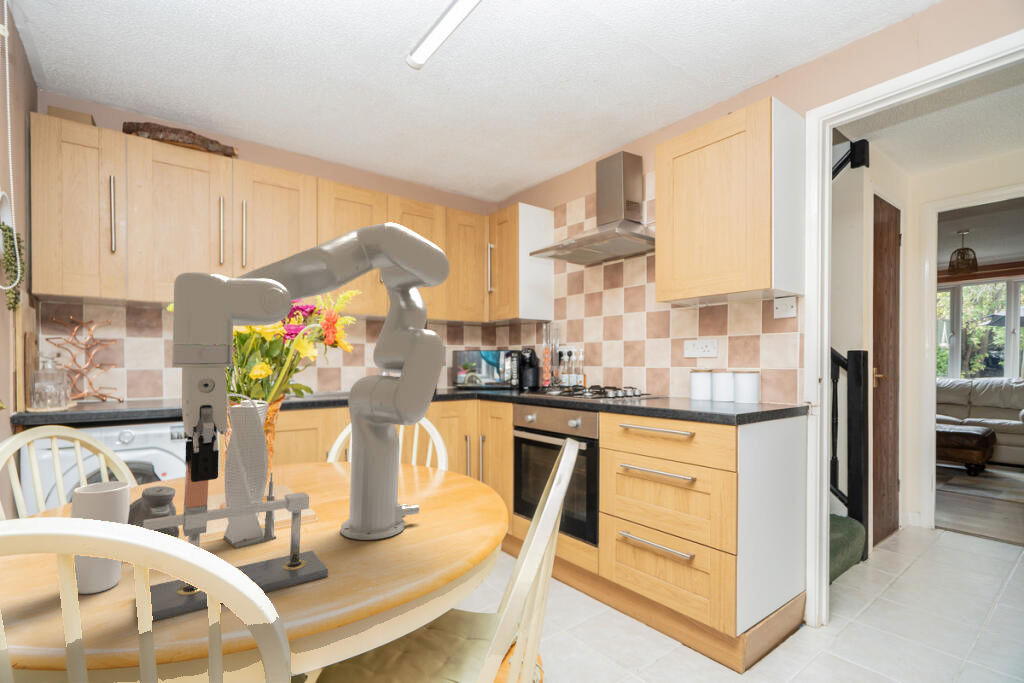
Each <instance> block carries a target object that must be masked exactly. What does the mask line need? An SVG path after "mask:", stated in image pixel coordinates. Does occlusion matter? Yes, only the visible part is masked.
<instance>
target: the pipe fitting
mask: <svg viewBox="0 0 1024 683" xmlns="http://www.w3.org/2000/svg"><path fill="white" fill-rule="evenodd" d="M175 496H176V489H175V488H173V487H171V486H170V487H169V486H163V485H162V486H150V487H146V488H145V489H143V490H142V493H141V497H140V498H138V499H136V500H135V501H133V502H132V503H130V511H129V518H128V524H131V525H136V526H140V527H143V525H144V520H148V519H154V518H161V517H167V516H174V515H177V509H176V506H175V504H174V502H173V499H174V497H175ZM154 531H158V532H161V533H164V534H168V535H171V536H174V537H177V538H179V536H180V528H179V526H173V527H167V528H161V529H155V530H154Z"/></svg>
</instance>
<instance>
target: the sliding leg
mask: <svg viewBox="0 0 1024 683" xmlns="http://www.w3.org/2000/svg"><path fill="white" fill-rule="evenodd" d="M184 479H185V480H184V481H185V482H184V500H183V501H184V502H183V514H185V525H182V531H183V534H184V535H183V536H184V537H187V540H188V541H187V542H189V543H191V544H193V545H195V546H197V547H199V548H200V542H201V541H200V540H201V534H206V533H207V529H208V528H207V526H208V525H207V523H208V521H207V510H208V501H209V499H208V496H209V480H206V481H199V482H192V481H191V461H189V462H186V466H185V478H184ZM187 584H188V583H187ZM188 585H190V584H188Z"/></svg>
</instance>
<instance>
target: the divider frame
mask: <svg viewBox="0 0 1024 683" xmlns="http://www.w3.org/2000/svg"><path fill="white" fill-rule="evenodd" d="M309 508H310V496H309V495H308V494H307V493H306V492H305V491H301V492H294V493H288V494H284V498H283V499H274V501H267V500H266V501H262V502H260V503H254V504H247V505H240V506H234V507H227V508H226V507H221V508H216V509H214V508H213V509H209V510H208V509H207V522H209V521H215V520H216V521H217V520H221V519H228V518H229V517H235V516H241V515H247V514H253V513H259V512H260V513H264V512H265V513H266V511H272V510H274V511H276V510H284V509H286V510H287V511H288V512H289V513H291V521H290V522H291V524H290V543H289V544H290V546H289V547H290V549H289V555H290V564H291V565H297V564H298V563H299V553H301V552H300V549H301V548H300V546H301V522H302V511H304V510H308V509H309ZM260 513H259V514H260ZM183 525H185V514H184V513H182V514H176V515H174V516H167V517H161V518H154V519H148V520H144V525H143V528H146V529H149V530H155V529H161V528H167V527H173V526H178V527H179V526H183Z"/></svg>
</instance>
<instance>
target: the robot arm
mask: <svg viewBox="0 0 1024 683" xmlns="http://www.w3.org/2000/svg"><path fill="white" fill-rule="evenodd" d="M377 269H379V275H380V278H381V280H382V282H383V285H384V287H385V289H386V291H387V294H388V298H389V309H388V313H387V315H386V318H385V321H384V322H383V325H382V328H381V330H380V333H379V336H378V338H377V342H375V343H376V344H375V347H374V350H373V355H372V358H373V359H372V360H373V362H374V365H375V366H376V367H377V369H378V370H381V371H383V372H385V373H393V374H400V376H393V375H379V374H378V375H377V374H376V375H375V374H374V375H372V374H371V375H367V376H364V377H361V378H359V379H358V380H357V381H356V382H354V383H353V385H352V386H351V388H350V389H349V392H348V397H347V398H348V400H347V401H348V402H347V403H348V411H349V412H348V413H349V417H350V423H351V462H350V464H351V465H350V491H349V492H350V493H349V514H348V515H349V517H348V518H349V519H347V520H345V521H344V522H342V524H341V525H340V533H341V535H343V536H344V537H346V538H349V539H352V540H360V541H370V540H371V541H373V540H380V539H381V540H382V539H387V538H389V537H393V536H395V535H398V534H399V533H401V532H402V531H403V530H404V528H405V520H404V518H406V517H407V516H409V515H410V516H411V515H416V514H419V512H420V508H419V507H420V506H419V504H412V505H411V504H410V505H409V504H408V503H403V504H400V503H399V500H398V499H399V474H400V472H399V471H400V470H399V469H400V468H399V467H400V448H401V447H400V437H399V433H398V430H397V426H396V425H399V426H413V425H416V424H418V423H419V422H421V421H422V420H423V419H424V418H425V416H426V414H427V413H428V410H429V407H430V406H431V402H432V399H433V397H434V394H435V391H436V388H437V384H438V381H439V378H440V376H441V373H442V369H443V366H444V362H445V346H444V343H443V340H442V338H441V337H440V335H438V333H437V332H435V331H433V330H431V329H428V328H427V329H426V328H425V327H426V323H427V319H428V309H427V306H426V303H425V301H424V299H423V296H422V295H421V293H420V290H419V288H421V289H422V288H432V287H437V286H440V285H442V284H443V283H444V282H445V281H446V280H447V279H448V277H449V275H450V262H449V259H448V256H447V254H445V252H444V251H443V250H442V249H441V248H440V247H439V246H438V245H436V244H434V243H433V242H431V241H429V240H428V239H426V238H425V237H423V236H421V235H419V234H418V233H416V232H414V231H412V230H411V229H409V228H407V227H406V226H403V225H400V224H397V223H394V222H384V223H379V224H372V225H367V226H362V227H358V228H355V229H353V230H350V231H348V232H345V233H343V234H341V235H339V236H337V237H334V238H333V239H330V240H328V241H325V242H323V243H320V244H317V245H316V246H313V247H311V248H308V249H305V250H302V251H300V252H297V253H294V254H293V255H290V256H288V257H285V258H283V259H281V260H277V261H275V262H272V263H270V264H265V265H264V266H261V267H258V268H256V269H253V270H251V271H248V272H246V273H244V274H242V275H239V276H237V277H229V276H228V277H227V276H225V275H223V274H217V273H211V272H196V271H195V272H183V273H180V274H178V275H177V276H176V277H175V279H174V283H173V313H172V314H173V318H172V320H173V321H172V357H171V358H172V360H171V361H172V362H171V365H172V366H171V367H172V368H181V413H182V422H183V430H184V432H185V434H186V436H187V437H186V438H187V440H186V441H185V459H184V460H185V467H186V462H189V461H191V481H192V482H199V481H206V480H208V481H211V480H216V479H218V478H219V456H220V455H219V449H218V447H219V446H218V434H217V432H218V433H219V434H221V435H225V434H226V433H227V432H228V405H227V394H228V393H227V392H228V391H227V390H228V389H227V375H226V374H227V373H226V368H231V367H233V358H234V357H233V354H234V352H233V351H234V350H233V348H234V346H233V345H234V340H233V339H234V327H243V326H255V327H258V326H269V325H274V324H277V323H280V322H281V321H283V320H284V319H286V318H287V317H288V315H289V314H290V312H291V310H292V306H293V301H296V300H300V299H301V300H302V299H305V298H310V297H316V296H320V295H324V294H327V293H330V292H334V291H336V290H337V289H340V288H341V287H343V286H345V285H347V284H348V283H351V282H352V281H354V280H356V279H358V278H360V277H361V276H363V275H366V274H368V273H369V272H372V271H374V270H377Z"/></svg>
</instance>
